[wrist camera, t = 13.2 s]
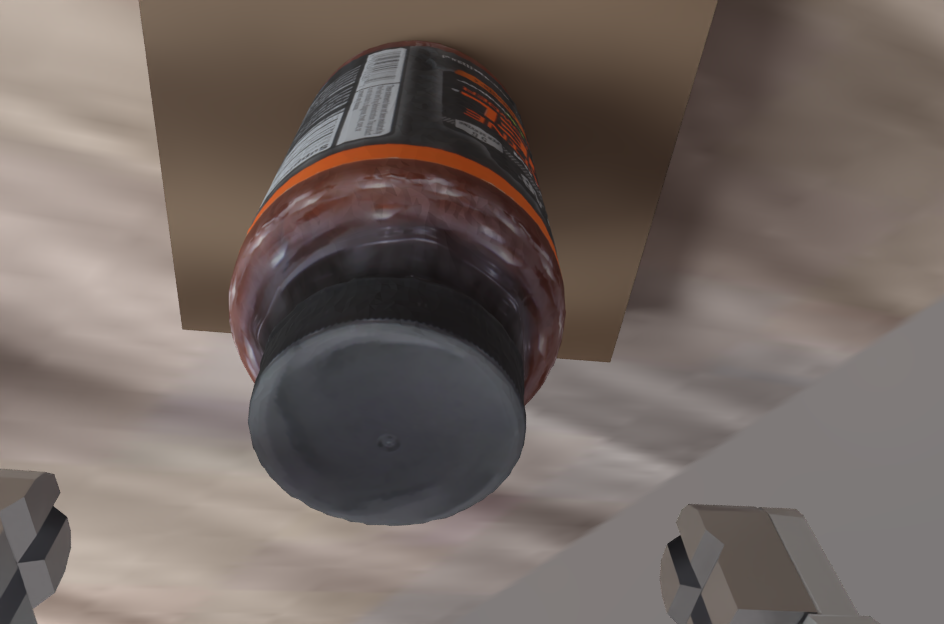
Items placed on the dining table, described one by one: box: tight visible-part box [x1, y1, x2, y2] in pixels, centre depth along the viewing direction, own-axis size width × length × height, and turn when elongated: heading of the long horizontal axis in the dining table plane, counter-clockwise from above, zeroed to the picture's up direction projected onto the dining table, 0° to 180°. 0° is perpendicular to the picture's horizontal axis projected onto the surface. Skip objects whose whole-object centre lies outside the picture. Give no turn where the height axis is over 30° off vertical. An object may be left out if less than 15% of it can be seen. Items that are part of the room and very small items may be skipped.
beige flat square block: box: [139, 0, 718, 362], centre depth 21 cm, size 14×14×3 cm
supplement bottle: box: [229, 40, 566, 526], centre depth 15 cm, size 6×6×11 cm
